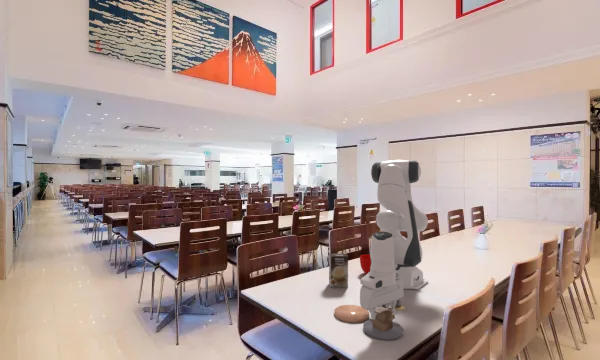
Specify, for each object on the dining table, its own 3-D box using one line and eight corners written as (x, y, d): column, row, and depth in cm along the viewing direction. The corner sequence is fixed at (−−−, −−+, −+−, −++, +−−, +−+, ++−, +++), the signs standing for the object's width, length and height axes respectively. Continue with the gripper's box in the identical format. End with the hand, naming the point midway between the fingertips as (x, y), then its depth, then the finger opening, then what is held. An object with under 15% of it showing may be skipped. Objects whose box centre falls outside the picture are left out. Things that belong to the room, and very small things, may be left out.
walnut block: (381, 322, 115) (381, 306, 115) (392, 327, 110) (392, 311, 110) (372, 326, 112) (372, 309, 112) (383, 331, 108) (383, 314, 108)
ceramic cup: (379, 269, 188) (379, 252, 188) (384, 277, 171) (384, 260, 171) (358, 268, 189) (358, 252, 189) (361, 277, 172) (360, 259, 172)
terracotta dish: (351, 304, 134) (351, 302, 134) (376, 316, 122) (376, 313, 122) (327, 312, 126) (327, 310, 126) (351, 326, 114) (351, 322, 114)
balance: (372, 307, 131) (372, 275, 131) (409, 323, 116) (409, 287, 116) (360, 311, 127) (360, 278, 127) (397, 328, 112) (397, 291, 112)
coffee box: (330, 287, 155) (330, 256, 155) (328, 283, 162) (328, 253, 162) (348, 287, 156) (348, 256, 156) (346, 283, 162) (345, 253, 162)
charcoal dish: (380, 318, 121) (380, 315, 121) (411, 332, 109) (411, 329, 109) (355, 328, 113) (355, 325, 113) (385, 344, 101) (385, 341, 101)
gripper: (393, 270, 120) (394, 305, 120) (356, 280, 108) (357, 319, 108) (407, 274, 114) (407, 310, 115) (370, 285, 103) (370, 326, 103)
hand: (382, 315), depth 111 cm, fingers open, 8 cm apart
